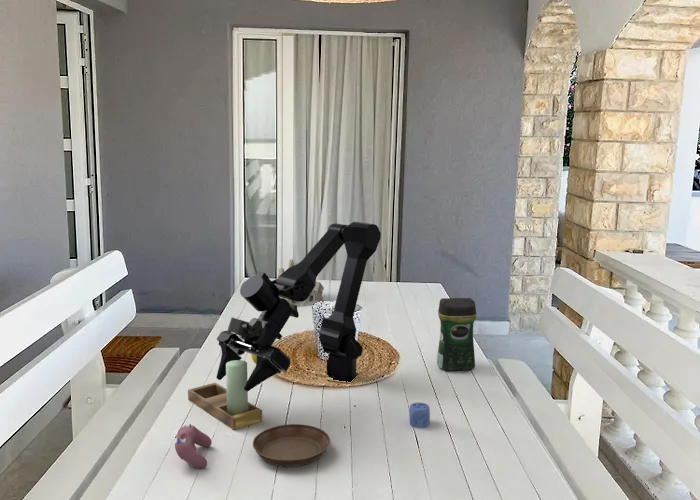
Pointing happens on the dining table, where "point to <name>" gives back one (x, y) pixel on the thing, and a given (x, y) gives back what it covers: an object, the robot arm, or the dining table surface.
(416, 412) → the decorative dice
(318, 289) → the ceramic cottage
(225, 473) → the dining table surface
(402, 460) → the dining table surface
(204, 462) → the video game controller
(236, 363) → the peg
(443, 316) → the coffee jar
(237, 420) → the wooden compartment tray
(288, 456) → the saucer
